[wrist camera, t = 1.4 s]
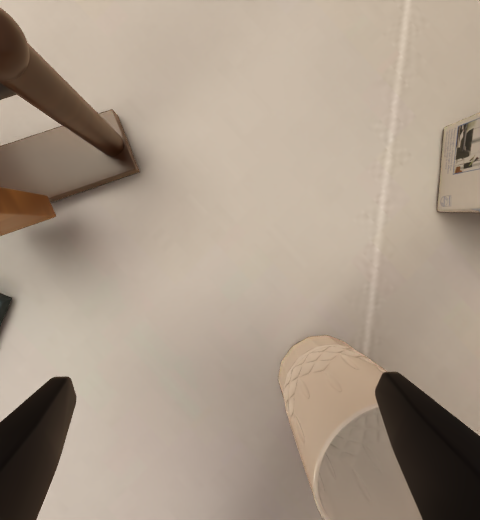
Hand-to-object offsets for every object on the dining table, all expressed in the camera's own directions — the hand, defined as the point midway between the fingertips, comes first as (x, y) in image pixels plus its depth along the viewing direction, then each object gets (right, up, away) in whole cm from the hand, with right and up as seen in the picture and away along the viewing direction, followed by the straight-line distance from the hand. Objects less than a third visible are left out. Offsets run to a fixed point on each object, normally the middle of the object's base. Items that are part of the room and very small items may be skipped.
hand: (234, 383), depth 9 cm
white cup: (+7, -6, +16) cm, 18 cm away
